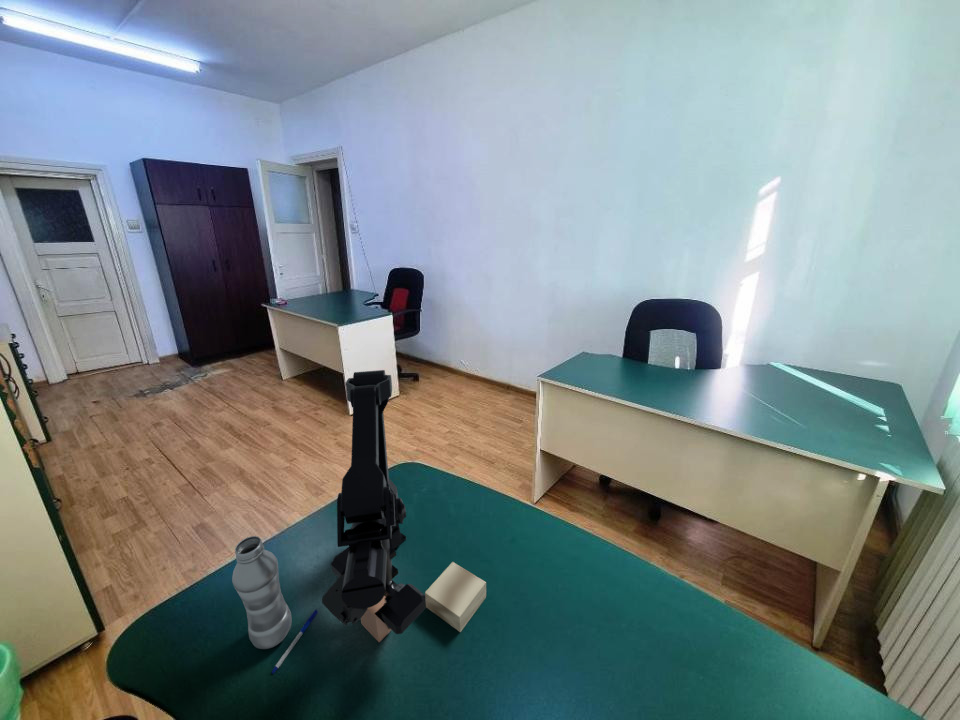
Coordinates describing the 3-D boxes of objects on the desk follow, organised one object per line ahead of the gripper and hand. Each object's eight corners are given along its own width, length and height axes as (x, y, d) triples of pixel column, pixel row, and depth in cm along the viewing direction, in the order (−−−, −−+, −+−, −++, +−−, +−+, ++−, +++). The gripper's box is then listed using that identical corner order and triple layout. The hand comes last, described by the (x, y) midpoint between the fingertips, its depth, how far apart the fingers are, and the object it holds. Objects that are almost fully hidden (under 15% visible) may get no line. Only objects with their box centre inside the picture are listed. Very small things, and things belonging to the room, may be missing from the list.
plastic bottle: (251, 663, 60) (220, 570, 53) (253, 626, 66) (226, 537, 59) (294, 643, 63) (271, 552, 56) (293, 609, 69) (271, 523, 62)
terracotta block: (361, 624, 66) (357, 599, 64) (384, 603, 70) (381, 579, 68) (379, 642, 63) (375, 617, 61) (402, 619, 67) (399, 594, 65)
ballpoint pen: (314, 611, 68) (313, 607, 68) (318, 612, 68) (318, 608, 68) (271, 674, 59) (270, 670, 59) (276, 675, 59) (274, 671, 58)
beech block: (426, 608, 69) (424, 592, 68) (453, 576, 75) (452, 561, 74) (460, 633, 65) (459, 617, 63) (486, 597, 71) (486, 582, 69)
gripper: (295, 553, 60) (310, 621, 65) (364, 624, 49) (376, 699, 55) (354, 513, 68) (364, 576, 74) (425, 567, 58) (431, 637, 63)
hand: (381, 617), depth 66 cm, fingers closed on terracotta block, 5 cm apart
